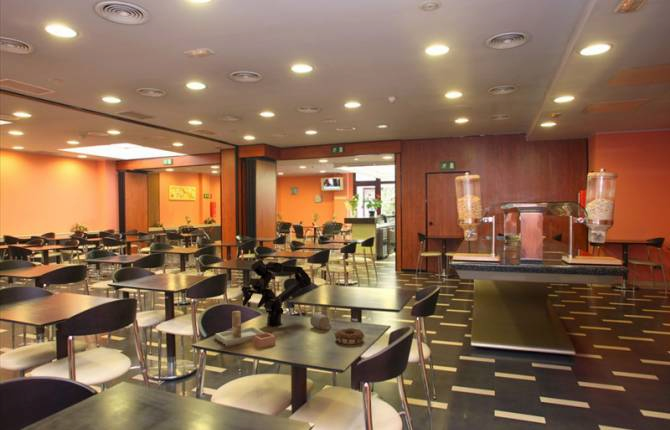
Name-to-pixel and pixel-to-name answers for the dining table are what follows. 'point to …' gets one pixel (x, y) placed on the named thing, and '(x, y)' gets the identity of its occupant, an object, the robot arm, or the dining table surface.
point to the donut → (349, 336)
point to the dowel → (236, 324)
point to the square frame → (264, 340)
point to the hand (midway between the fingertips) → (250, 306)
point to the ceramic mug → (319, 321)
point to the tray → (245, 337)
